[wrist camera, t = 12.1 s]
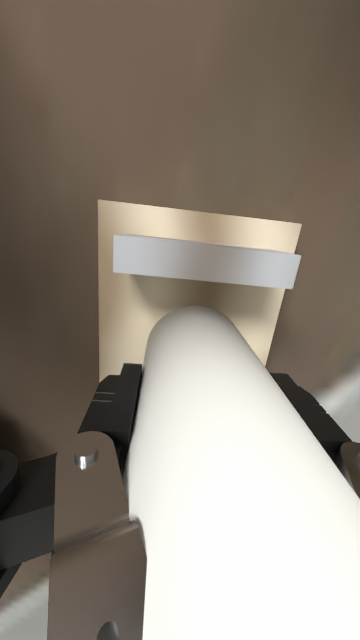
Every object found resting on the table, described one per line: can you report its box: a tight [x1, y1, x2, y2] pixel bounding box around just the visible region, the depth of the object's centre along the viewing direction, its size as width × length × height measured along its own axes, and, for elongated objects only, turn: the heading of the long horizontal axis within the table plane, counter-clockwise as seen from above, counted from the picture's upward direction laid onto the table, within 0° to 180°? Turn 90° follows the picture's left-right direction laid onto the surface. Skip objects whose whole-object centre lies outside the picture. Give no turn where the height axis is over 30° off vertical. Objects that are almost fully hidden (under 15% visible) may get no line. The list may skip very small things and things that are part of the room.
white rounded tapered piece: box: [122, 305, 360, 640], centre depth 8 cm, size 5×5×12 cm
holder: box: [98, 200, 302, 383], centre depth 14 cm, size 11×14×5 cm
